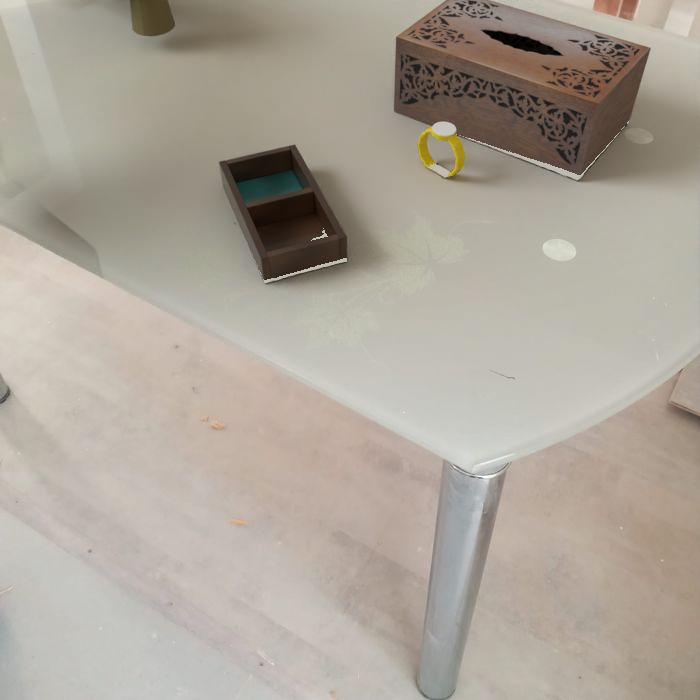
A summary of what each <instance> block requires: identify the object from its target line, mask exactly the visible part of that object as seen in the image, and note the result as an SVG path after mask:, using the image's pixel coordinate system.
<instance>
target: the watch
mask: <svg viewBox="0 0 700 700" xmlns="http://www.w3.org/2000/svg"><path fill="white" fill-rule="evenodd" d="M429 134H431V136H432V137H433V138H434V139H436V140H437V141H442V142H448V144H449V145H450V147H451V149H452V150H453V154H454V157H455V162H454V163H455V164H454V168H453V169H452V170H453V171H452V170H451V171H452V172H450V173H449V174H448V176H452V177H454V176H455V175H456V174H458V173H459V172H460V171H461V170H462V169H463V167H464V166H465V160H466V153H465V149H464V145H463V143H462V141H461V140H460V138H459V136H457V135H456V127H455V126H454V125H453V124H452V123H449V122H437V123H435V124H434V125H433V126H431V125H430V127H428V128H427V129H425V130H424V131H423V132H422V133H420V135H419V137H418V141H417V149H418V156H419V158H420V160H421V162H422V164H423V166H424V167H425V166H428V167H430V165H433V164H435V163H437V162H436V161H435V160H434V158H433V157H432V155H431V154H430V152H429V148H428V138H429ZM434 166H435V165H434Z"/></svg>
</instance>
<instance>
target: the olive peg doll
mask: <svg viewBox="0 0 700 700" xmlns="http://www.w3.org/2000/svg"><path fill="white" fill-rule="evenodd" d="M129 6H130V7H129V8H130V18H131V28H132V31H133V32H134V33H135V34H137V35H139V36H143V37H157V36H162V35H165V34H168V33H170V32H171V31H172V30H174V28H175V27H176V21H175V18H174V15H173V13H172V9H171V6H170V3H169V0H129Z"/></svg>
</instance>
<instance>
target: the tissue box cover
mask: <svg viewBox="0 0 700 700" xmlns="http://www.w3.org/2000/svg"><path fill="white" fill-rule="evenodd" d="M650 52H651V47H649V46H646V45H642V44H639V43H635V42H632V41H628V40H626V39H622V38H619V37H615V36H612V35H609V34H605V33H602V32H598V31H595V30H593V29H592V30H591V29H589V28H585V27H581V26H578V25H576V24H571V23H568V22H564V21H562V20H558V19H554V18H551V17H548V16H544V15H541V14H538V13H534V12H531V11H527V10H524V9H521V8H517V7H513V6H510V5H507V4H503V3H500V2H498V1H494V0H444V1H443V2H441V3H440V4H439V5H438V6H436V7H435V8H434V9H432V10H431V11H429V12H428V13H426V14H425V15H424V16H422V17H421V18H420V19H419V20H417V21H415V22H413V24H411V25H410V26H409V27H407V28H406V29H405V30H403V31H402V32H401V33H399V34H398V35H397V36H395V55H394V56H395V57H394V58H395V60H394V65H395V66H394V91H393V92H394V93H393V112H394V113H397V114H399V115H403V116H405V117H408V118H411V119H413V120H415V121H419V122H421V123H423V124H426V125H428V126H430V127H431V126H433V125H434V124H435V123H437V122H449V123H452V124H453V125H454V126H455V127H456V134H457V135H461V136H464V137H467V138H471V139H474V140H476V141H480V142H482V143H486V144H488V145H491V146H494V147H497V148H500V149H503V150H506V151H508V152H509V151H510V152H512V153H516V154H519V155H521V156H524V157H527V158H530V159H534V160H537V161H540V162H543V163H547V164H550V165H552V166H555V167H558V168H562V169H564V170H567V171H569V172H572V173H575V174H577V175H581V174H582V173H583V172H584V171H585V170H586V168H587V167H588V166H589V165H590V164H591V163H592V162H593V161H594V160H595V158H596V157H597V156H598V155H599V154H600V153H601V152H602V151H603V150H604V149H605V148H606V146H607V145H608V144H609V143H610V142H611V141H612V140H613V139H614V137H615V136H616V135H617V134H618V133H619V132H620V131H621V129H622V128H623V127H624V126H625V125H626V124H627V122H628V121H629V120H631V117H632V113H633V110H634V107H635V103H636V99H637V97H638V93H639V89H640V87H641V83H642V80H643V76H644V73H645V69H646V66H647V63H648V59H649V56H650ZM629 122H630V121H629Z"/></svg>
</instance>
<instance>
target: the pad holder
mask: <svg viewBox="0 0 700 700" xmlns="http://www.w3.org/2000/svg"><path fill="white" fill-rule="evenodd" d="M218 165H219V171H220V176H221V182H222V183H221V184H222V187H223V189H224V192H225V194H226V196H227V199H228V202H229V204H230V207H231V209H232V211H233V213H234V216H235V218H236V220H237V223H238V225H239V227H240V230H241V233H242V234H244V235H243V237H244V239H245V242H246V241H247V242H246V244H247V243H248V244H247V246H248V245H249V246H248V249H249V248H250V249H249V251H250V250H251V251H250V253H251V252H252V253H251V255H252V254H253V256H252V258H253V257H254V258H253V260H254V259H255V260H254V262H255V261H256V263H257V265H258V267H259V270H260V272H261V274H262V277H263V279H264V280H267V279H271V278H277V277H279V276H283V275H286V274H290V273H294V272H297V271H301V270H304V269H308V268H310V267H315V266H317V265H321V264H325V263H329V262H333V261H337V260H340V259H343V258H347V259H348V237H347V235H346V232H345V230H344V229H343V227H342V226H341V224H340V222H339V220H338V219H337V217H336V215H335V213H334V212H333V209H332V208H331V206H330V204H329V202H328V201H327V198H326V197H325V195H324V193H323V192H322V190H321V188H320V186H319V184H318V183H317V181H316V179H315V177H314V176H313V173H312V171H311V170H310V168H309V167H308V165H307V163H306V161H305V160H304V158H303V155H302V153H301V152H300V150H299V148H298V147H297V145H296V144H295V143H294V144H289V145H286V146H282V147H278V148H272V149H269V150H265V151H260V152H256V153H251V154H246V155H242V156H238V157H233V158H229V159H226V160H225V159H223V160H220V161H218ZM323 228H324V229H323ZM323 230H325V233H326V234H327V236H328V237H324V238H320V239H316V240H312V239H313V238H316V237H320V236H322V235H323V234H324V233H322V231H323ZM311 240H312V241H311ZM256 263H255V264H256ZM257 265H256V266H257ZM258 267H257V268H258ZM259 270H258V271H259ZM260 272H259V273H260ZM261 274H260V275H261ZM262 277H261V278H262ZM263 279H262V280H263Z"/></svg>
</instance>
